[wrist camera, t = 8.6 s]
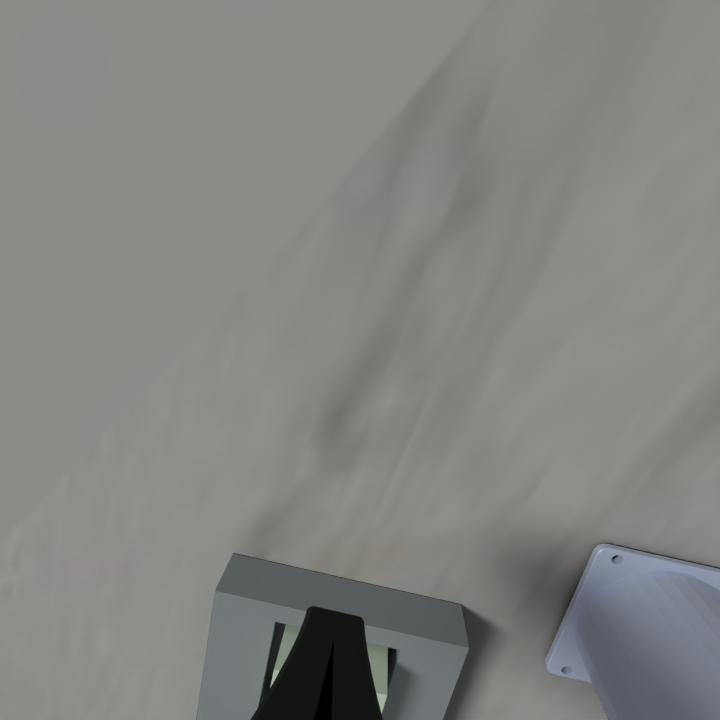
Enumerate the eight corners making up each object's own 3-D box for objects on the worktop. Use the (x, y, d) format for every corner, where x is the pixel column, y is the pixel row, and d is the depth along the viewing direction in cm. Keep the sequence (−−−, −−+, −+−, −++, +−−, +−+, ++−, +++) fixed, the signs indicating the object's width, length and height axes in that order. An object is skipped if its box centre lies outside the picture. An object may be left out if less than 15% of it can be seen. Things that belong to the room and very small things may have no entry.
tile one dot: (387, 626, 23) (387, 699, 19) (366, 697, 24) (362, 778, 21) (291, 604, 23) (272, 674, 19) (275, 677, 24) (256, 754, 21)
